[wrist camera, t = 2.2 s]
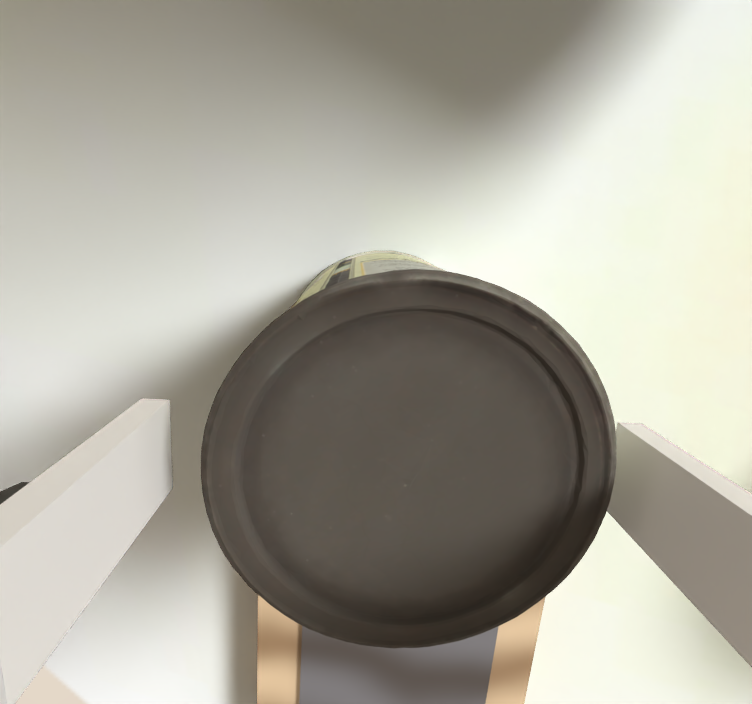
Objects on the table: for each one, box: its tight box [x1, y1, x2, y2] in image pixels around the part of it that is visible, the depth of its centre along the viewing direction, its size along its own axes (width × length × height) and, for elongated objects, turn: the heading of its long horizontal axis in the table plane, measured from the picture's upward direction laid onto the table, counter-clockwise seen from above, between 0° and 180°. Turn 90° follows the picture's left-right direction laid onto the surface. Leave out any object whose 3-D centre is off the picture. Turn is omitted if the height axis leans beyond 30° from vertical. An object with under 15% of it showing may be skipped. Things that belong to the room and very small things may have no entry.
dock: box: [257, 595, 545, 704], centre depth 28 cm, size 15×16×3 cm
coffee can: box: [201, 251, 617, 648], centre depth 18 cm, size 10×10×14 cm
